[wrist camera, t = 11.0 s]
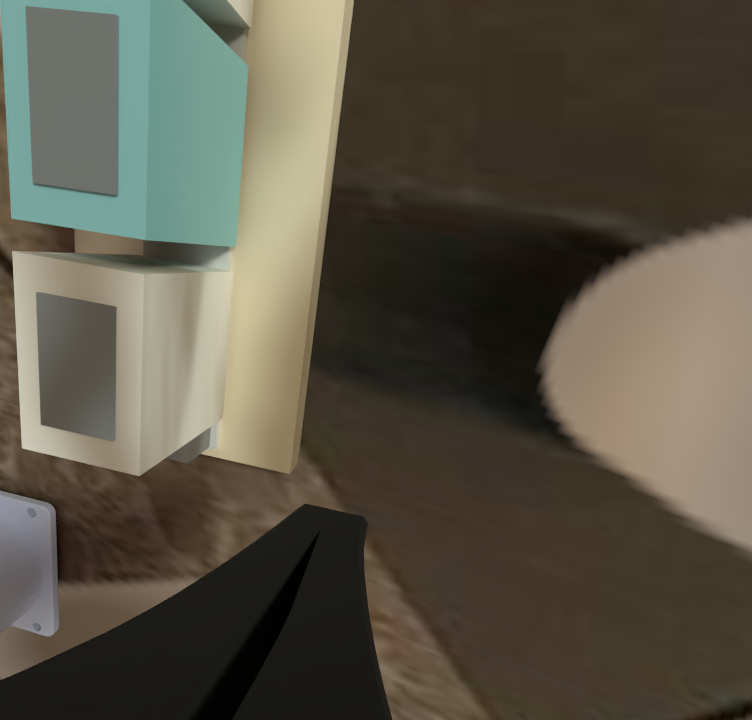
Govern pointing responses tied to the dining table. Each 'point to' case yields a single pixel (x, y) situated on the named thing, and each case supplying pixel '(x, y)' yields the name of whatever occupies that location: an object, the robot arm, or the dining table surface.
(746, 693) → the dining table surface
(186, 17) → the teal module
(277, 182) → the board
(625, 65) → the dining table surface
